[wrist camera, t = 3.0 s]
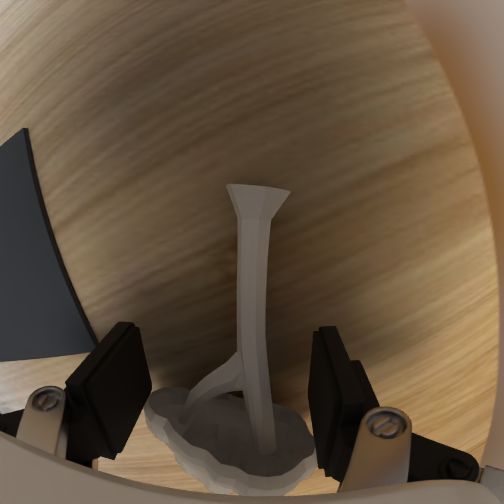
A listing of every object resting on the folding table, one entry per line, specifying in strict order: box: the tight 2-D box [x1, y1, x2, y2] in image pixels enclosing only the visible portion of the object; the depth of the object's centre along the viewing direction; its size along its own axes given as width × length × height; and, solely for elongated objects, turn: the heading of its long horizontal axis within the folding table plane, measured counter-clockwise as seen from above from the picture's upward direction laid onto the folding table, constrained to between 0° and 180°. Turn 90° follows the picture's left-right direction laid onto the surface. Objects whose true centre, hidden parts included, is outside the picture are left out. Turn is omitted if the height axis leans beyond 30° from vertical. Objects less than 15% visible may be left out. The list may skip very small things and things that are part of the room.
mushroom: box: [144, 184, 318, 496], centre depth 9 cm, size 7×5×12 cm
